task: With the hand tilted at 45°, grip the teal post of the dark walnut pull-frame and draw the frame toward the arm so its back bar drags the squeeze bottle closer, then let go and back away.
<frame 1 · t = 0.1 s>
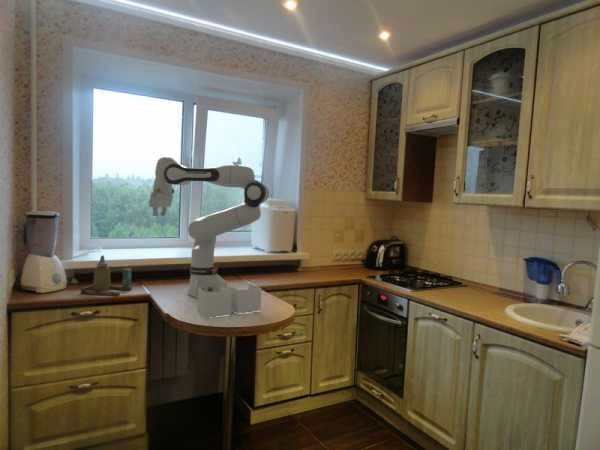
hand: (159, 215, 203), 39 cm above the countertop, tool pointing down, fingers open, 8 cm apart
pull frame: (108, 280, 200), point 5 cm above the countertop, slide at 0.0 cm
squeeze bottle: (101, 291, 199), resting in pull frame
storage container: (229, 313, 174), on the countertop
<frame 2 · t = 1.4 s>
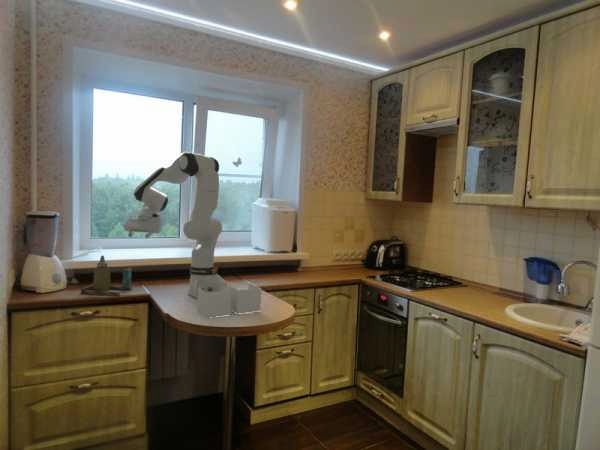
hand: (138, 236, 216), 26 cm above the countertop, tool tilted 45°, fingers open, 8 cm apart
nothing on the countertop moved.
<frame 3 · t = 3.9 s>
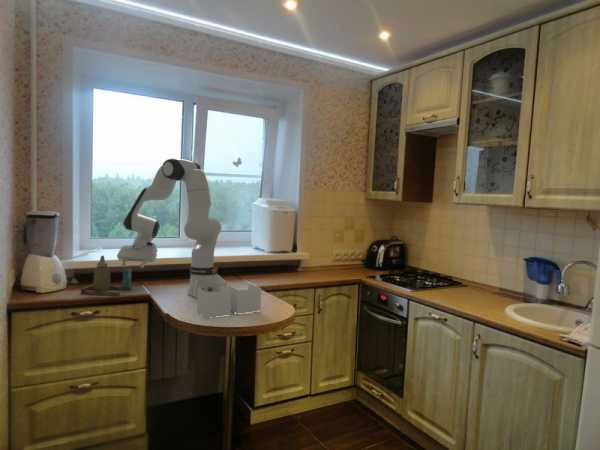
hand: (132, 266, 211), 11 cm above the countertop, tool tilted 45°, fingers open, 8 cm apart
nothing on the countertop moved.
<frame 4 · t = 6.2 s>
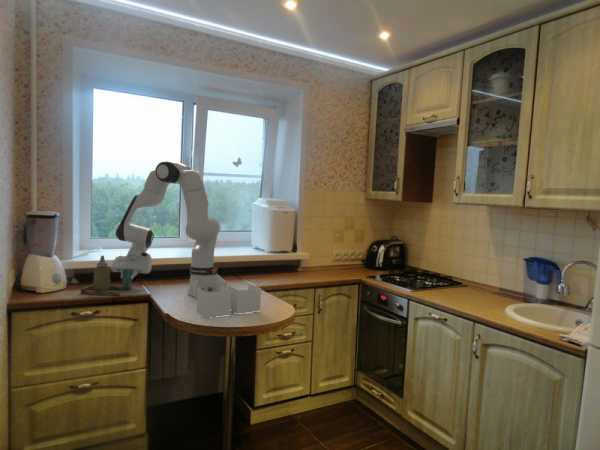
hand: (126, 278, 205), 6 cm above the countertop, tool tilted 45°, fingers closed on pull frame, 3 cm apart
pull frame: (108, 280, 200), point 5 cm above the countertop, slide at 0.0 cm, touching gripper
everything else where it was.
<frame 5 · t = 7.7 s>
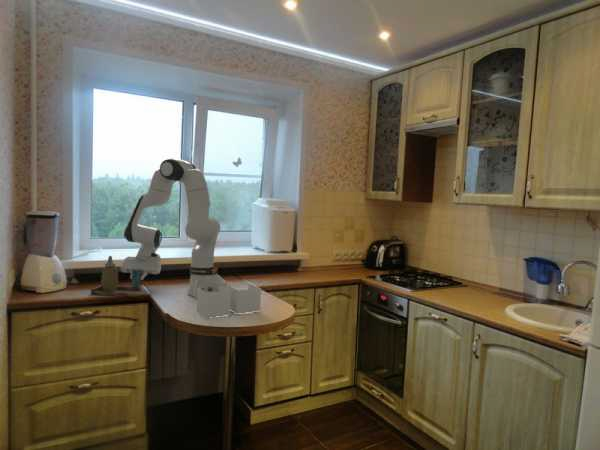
hand: (136, 279, 205), 6 cm above the countertop, tool tilted 45°, fingers open, 3 cm apart
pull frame: (117, 281, 199), point 5 cm above the countertop, slide at 4.9 cm, touching gripper, squeeze bottle
squeeze bottle: (109, 292, 199), resting in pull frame
everything else where it was.
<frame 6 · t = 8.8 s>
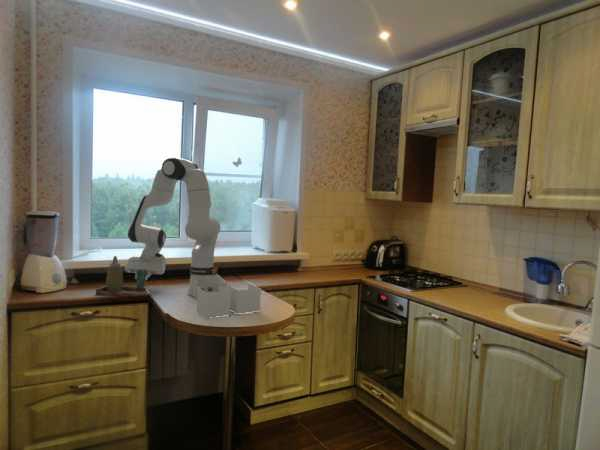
hand: (140, 279, 204), 6 cm above the countertop, tool tilted 45°, fingers closed on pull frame, 3 cm apart
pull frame: (122, 281, 199), point 5 cm above the countertop, slide at 7.4 cm, touching gripper, squeeze bottle
squeeze bottle: (114, 292, 199), resting in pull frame
everything else where it was.
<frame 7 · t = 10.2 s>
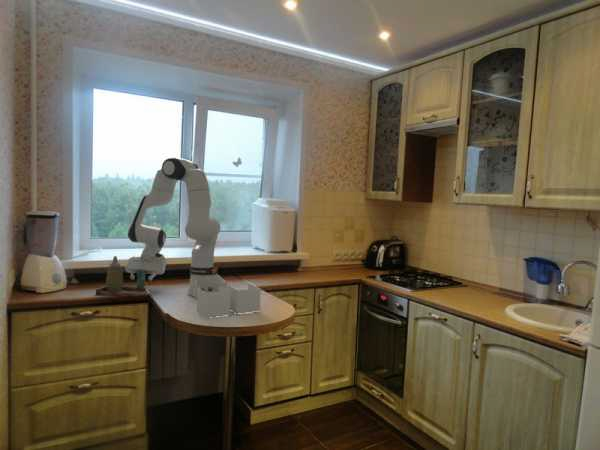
hand: (140, 279, 204), 6 cm above the countertop, tool tilted 45°, fingers open, 8 cm apart
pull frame: (122, 281, 199), point 5 cm above the countertop, slide at 7.4 cm
squeeze bottle: (114, 292, 199), resting in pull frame
everything else where it was.
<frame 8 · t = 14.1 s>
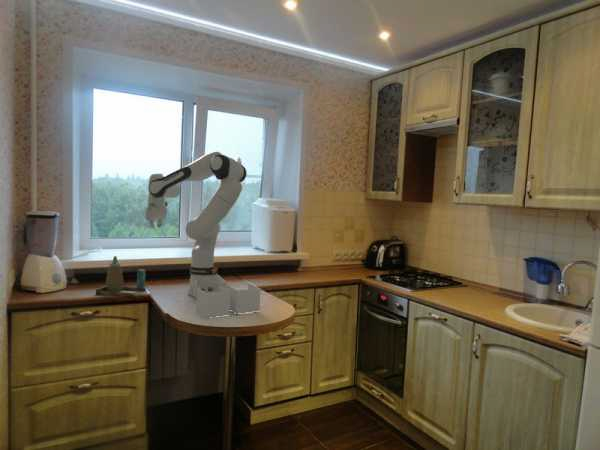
hand: (155, 227, 222), 31 cm above the countertop, tool pointing down, fingers open, 8 cm apart
nothing on the countertop moved.
at the end: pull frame slide at 7.4 cm; squeeze bottle inside the target area (0.8 cm from its centre), resting in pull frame; squeeze bottle tilted 0° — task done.
